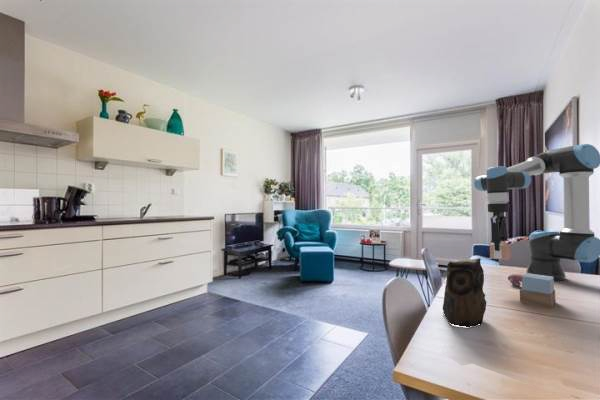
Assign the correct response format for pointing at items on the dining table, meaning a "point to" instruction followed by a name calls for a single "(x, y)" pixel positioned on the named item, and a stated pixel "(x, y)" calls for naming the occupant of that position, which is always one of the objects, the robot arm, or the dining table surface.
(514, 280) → the video game controller
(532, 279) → the slate block
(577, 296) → the dining table surface
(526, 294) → the walnut base
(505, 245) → the terracotta cube
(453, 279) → the owl
